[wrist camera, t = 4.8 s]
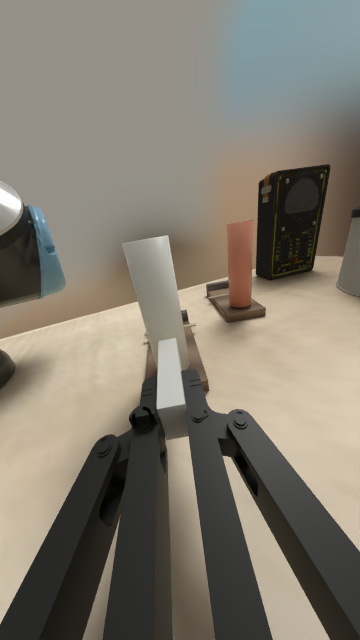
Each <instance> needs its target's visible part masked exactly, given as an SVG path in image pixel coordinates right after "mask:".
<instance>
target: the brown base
mask: <svg viewBox="0 0 360 640" xmlns="http://www.w3.org/2000/svg"><path fill="white" fill-rule="evenodd" d="M206 288H207V296H208V298H209V299H210V300H211V301H212V302H213V303H214V305H215V306H216V307H217V309H218V310H219V311H220V313H221V314H222V315H223V316H224V318H225V319H226V320H227V322H233V321H238V320H244V319H249V318H254V317H260V316H265V311H266V308H265V307H263V306H262V305H260V304H259V303H258V302H256V301H255V300H253V299H252V298H251V305H249V306H247V307H240V308H238V307H232V306H230V304H229V280H228V281H222V282H217V283H211V284H206Z"/></svg>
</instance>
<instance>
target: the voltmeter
mask: <svg viewBox="0 0 360 640" xmlns="http://www.w3.org/2000/svg"><path fill="white" fill-rule="evenodd" d="M329 173H330V165H328V164H327V165H320V166H312V167H304V168H297V169H290V170H282V171H277V172H275V173H271V174H269V175H267V176H266V177H265V179H263V180H261V181H260V182H259V193H258V226H257V257H256V275H258V276H261V277H265V278H267V279H268V280H272V279H277V278H281V277H285V276H289V275H293V274H297V273H301V272H305V271H309V270H312V269H313V266H314V260H315V254H316V249H317V242H318V237H319V231H320V225H321V219H322V214H323V208H324V202H325V196H326V190H327V185H328V179H329Z"/></svg>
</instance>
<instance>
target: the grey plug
mask: <svg viewBox="0 0 360 640" xmlns="http://www.w3.org/2000/svg"><path fill="white" fill-rule="evenodd" d="M122 246H123V249H124V253H125V257H126V260H127V264H128V267H129V271H130V275H131V278H132V281H133V285H134V288H135V292H136V296H137V299H138V303H139V307H140V310H141V314H142V317H143V321H144V324H145V328H146V331H147V335H148V338H149V342H150V346H151V349H152V353H153V356H154V360H155V363H156V367H157V370H158V341H162V340H167V339H172V338H176V341H177V346H178V351H179V356H180V361H181V368H182V371H184V370H187V369H188V368H189V365H190V361H189V355H188V350H187V344H186V338H185V332H184V326H183V320H182V314H181V309H180V303H179V297H178V291H177V285H176V279H175V274H174V268H173V262H172V256H171V251H170V244H169V238H168V236H162V237H156V238H150V239H145V240H139V241H133V242H128V243H123V244H122Z"/></svg>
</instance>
